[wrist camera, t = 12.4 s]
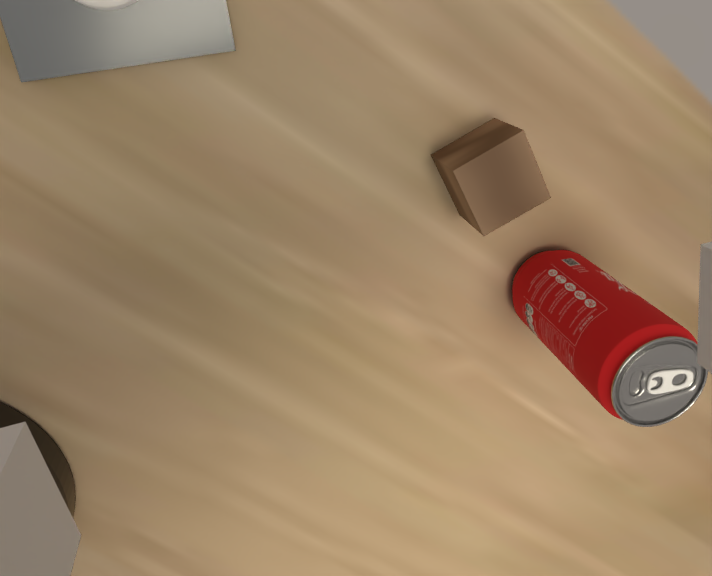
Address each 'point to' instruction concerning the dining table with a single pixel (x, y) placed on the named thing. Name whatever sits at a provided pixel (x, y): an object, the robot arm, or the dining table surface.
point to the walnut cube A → (491, 175)
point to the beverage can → (609, 338)
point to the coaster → (110, 34)
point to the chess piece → (106, 4)
